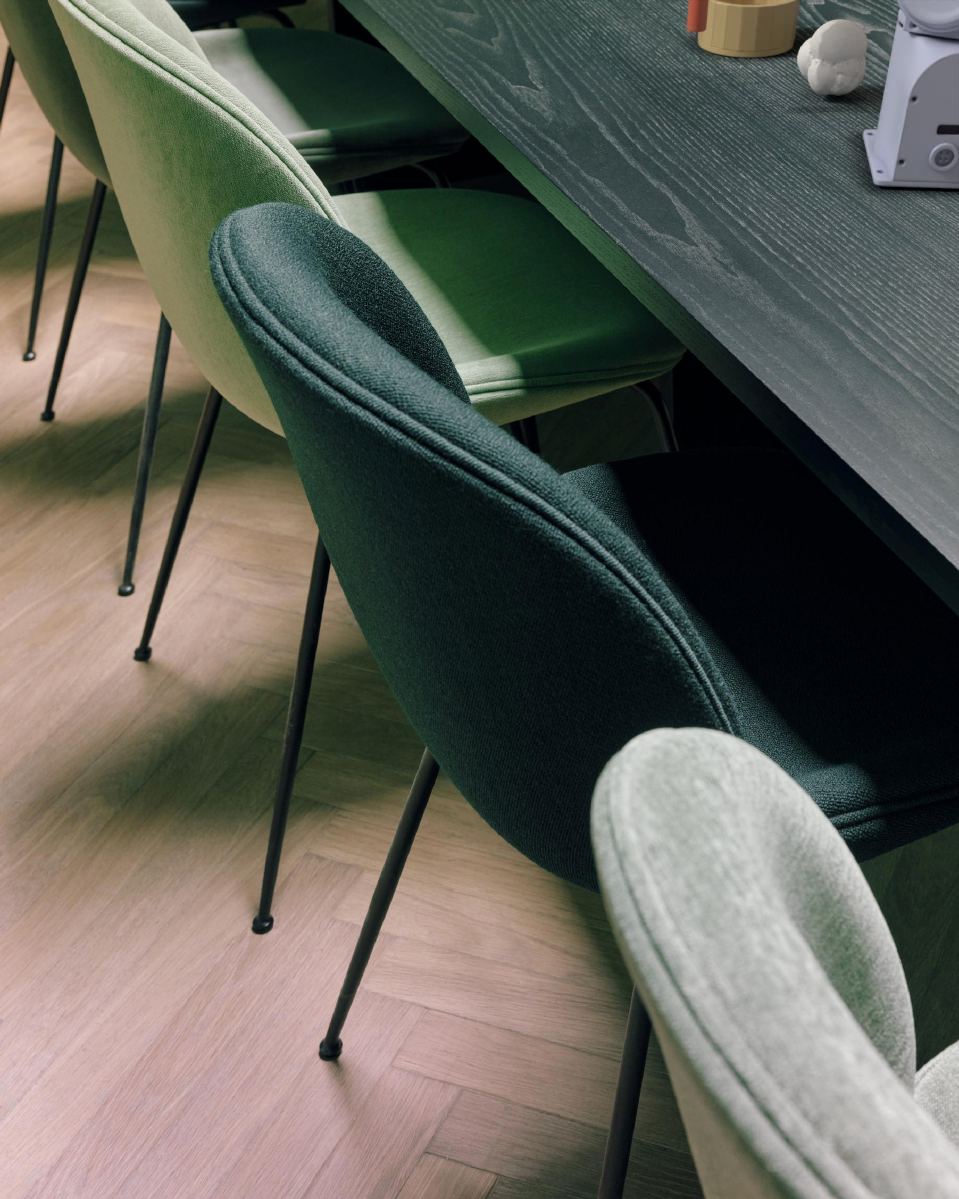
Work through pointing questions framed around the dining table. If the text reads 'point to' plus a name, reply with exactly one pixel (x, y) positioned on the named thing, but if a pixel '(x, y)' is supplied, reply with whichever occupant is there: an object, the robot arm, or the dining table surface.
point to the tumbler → (750, 27)
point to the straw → (697, 15)
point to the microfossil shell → (834, 58)
